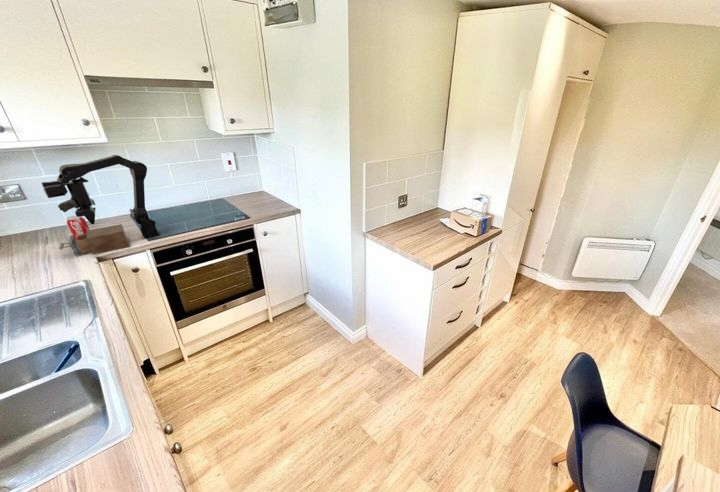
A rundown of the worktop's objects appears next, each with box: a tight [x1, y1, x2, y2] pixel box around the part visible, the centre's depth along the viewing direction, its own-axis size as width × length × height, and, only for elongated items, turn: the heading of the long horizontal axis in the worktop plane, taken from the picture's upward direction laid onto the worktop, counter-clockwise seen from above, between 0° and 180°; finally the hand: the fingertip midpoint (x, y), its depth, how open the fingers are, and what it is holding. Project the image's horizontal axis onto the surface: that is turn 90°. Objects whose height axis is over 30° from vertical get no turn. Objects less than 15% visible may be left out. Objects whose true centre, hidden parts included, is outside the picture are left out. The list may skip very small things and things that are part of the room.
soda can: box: [66, 215, 91, 241], centre depth 167 cm, size 7×7×12 cm
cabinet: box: [86, 223, 130, 255], centre depth 161 cm, size 14×12×9 cm
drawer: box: [58, 233, 93, 257], centre depth 155 cm, size 17×10×7 cm, turn 130°
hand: (93, 224), depth 155 cm, fingers closed
